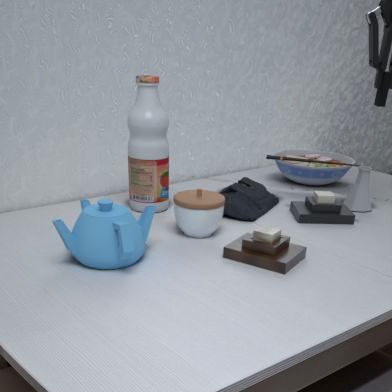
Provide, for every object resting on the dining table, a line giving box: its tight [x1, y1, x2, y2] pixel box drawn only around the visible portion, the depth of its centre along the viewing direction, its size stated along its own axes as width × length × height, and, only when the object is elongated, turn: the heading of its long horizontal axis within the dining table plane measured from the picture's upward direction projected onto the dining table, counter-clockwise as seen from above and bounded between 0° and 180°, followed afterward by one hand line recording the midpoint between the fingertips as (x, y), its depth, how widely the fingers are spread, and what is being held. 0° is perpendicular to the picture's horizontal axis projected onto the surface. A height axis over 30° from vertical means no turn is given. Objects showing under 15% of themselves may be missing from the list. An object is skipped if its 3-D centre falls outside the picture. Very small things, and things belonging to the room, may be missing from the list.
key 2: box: [312, 190, 336, 204], centre depth 118 cm, size 4×4×2 cm
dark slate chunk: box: [218, 176, 280, 222], centre depth 124 cm, size 15×22×5 cm
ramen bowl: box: [265, 148, 361, 187], centre depth 143 cm, size 25×23×8 cm
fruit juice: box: [126, 74, 170, 213], centre depth 114 cm, size 9×9×28 cm
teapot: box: [51, 198, 156, 270], centre depth 92 cm, size 15×15×11 cm
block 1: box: [222, 232, 308, 276], centre depth 97 cm, size 13×10×4 cm
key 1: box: [252, 224, 282, 244], centre depth 95 cm, size 4×4×2 cm
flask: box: [342, 165, 373, 213], centre depth 125 cm, size 7×7×10 cm
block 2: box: [289, 195, 356, 225], centre depth 119 cm, size 13×10×4 cm
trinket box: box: [172, 187, 225, 239], centre depth 105 cm, size 11×11×9 cm
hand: (379, 105), depth 108 cm, fingers closed
